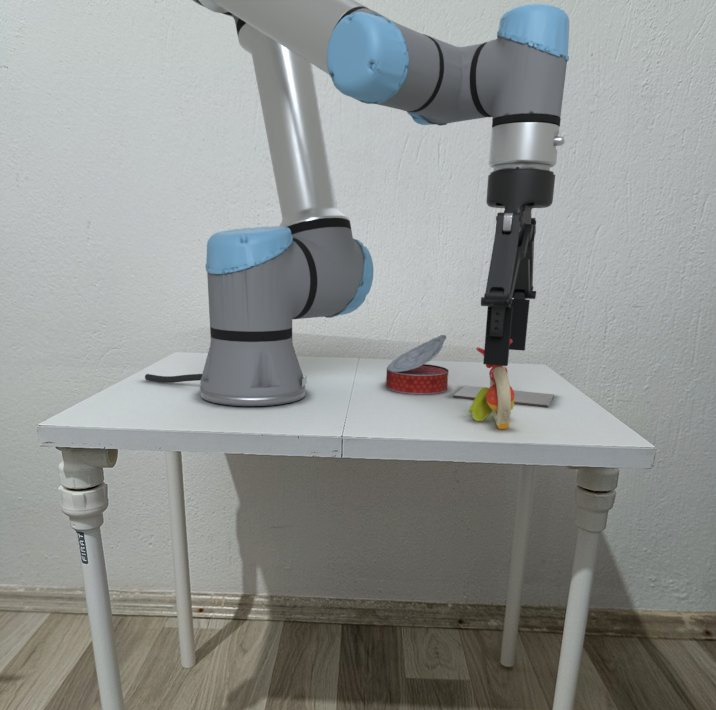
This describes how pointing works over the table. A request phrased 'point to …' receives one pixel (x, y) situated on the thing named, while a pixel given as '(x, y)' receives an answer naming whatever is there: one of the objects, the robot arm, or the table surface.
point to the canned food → (418, 370)
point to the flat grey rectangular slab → (519, 396)
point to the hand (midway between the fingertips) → (505, 356)
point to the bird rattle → (494, 397)
